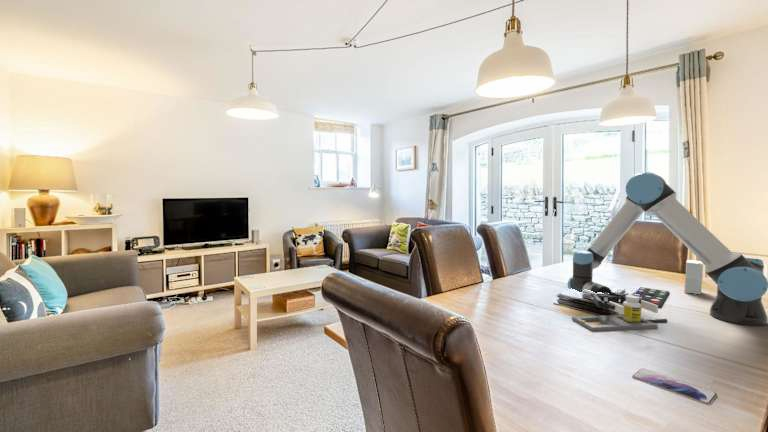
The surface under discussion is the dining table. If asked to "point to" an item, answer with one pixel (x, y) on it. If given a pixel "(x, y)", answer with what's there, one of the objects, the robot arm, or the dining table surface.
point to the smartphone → (675, 386)
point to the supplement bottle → (632, 310)
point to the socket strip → (615, 323)
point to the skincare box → (693, 277)
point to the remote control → (653, 295)
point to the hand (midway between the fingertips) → (640, 309)
